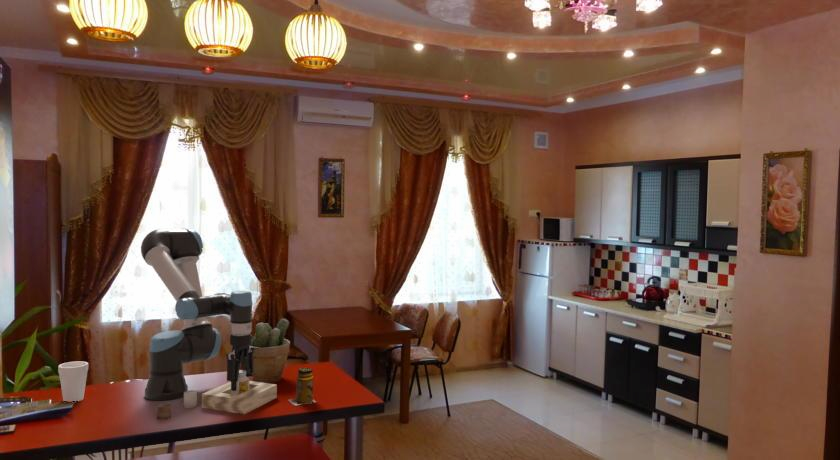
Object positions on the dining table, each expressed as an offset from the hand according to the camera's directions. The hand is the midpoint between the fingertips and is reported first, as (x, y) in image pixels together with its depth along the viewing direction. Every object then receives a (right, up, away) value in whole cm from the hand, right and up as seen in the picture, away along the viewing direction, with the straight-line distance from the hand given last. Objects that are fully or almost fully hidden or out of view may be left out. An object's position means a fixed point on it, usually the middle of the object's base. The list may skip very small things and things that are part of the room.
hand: (240, 396), depth 222 cm
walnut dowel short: (-21, -3, -17) cm, 27 cm away
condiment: (+22, -3, +3) cm, 23 cm away
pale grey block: (-16, -2, -5) cm, 17 cm away
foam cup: (-61, -1, -1) cm, 61 cm away
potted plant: (+2, -1, +30) cm, 30 cm away
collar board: (0, -2, 0) cm, 2 cm away
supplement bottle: (0, -1, 0) cm, 1 cm away
